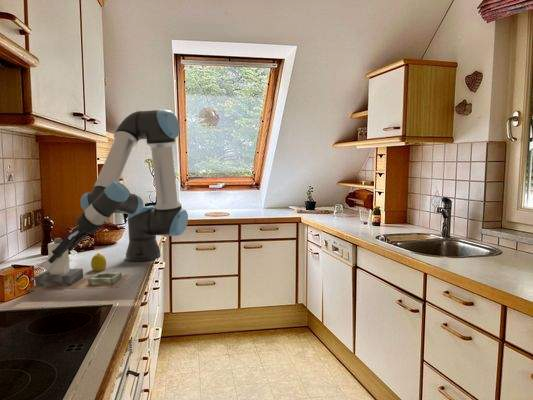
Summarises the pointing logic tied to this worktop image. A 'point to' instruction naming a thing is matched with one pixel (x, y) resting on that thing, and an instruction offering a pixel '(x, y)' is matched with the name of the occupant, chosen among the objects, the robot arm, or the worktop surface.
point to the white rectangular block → (63, 262)
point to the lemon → (98, 262)
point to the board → (78, 280)
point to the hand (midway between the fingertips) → (48, 266)
